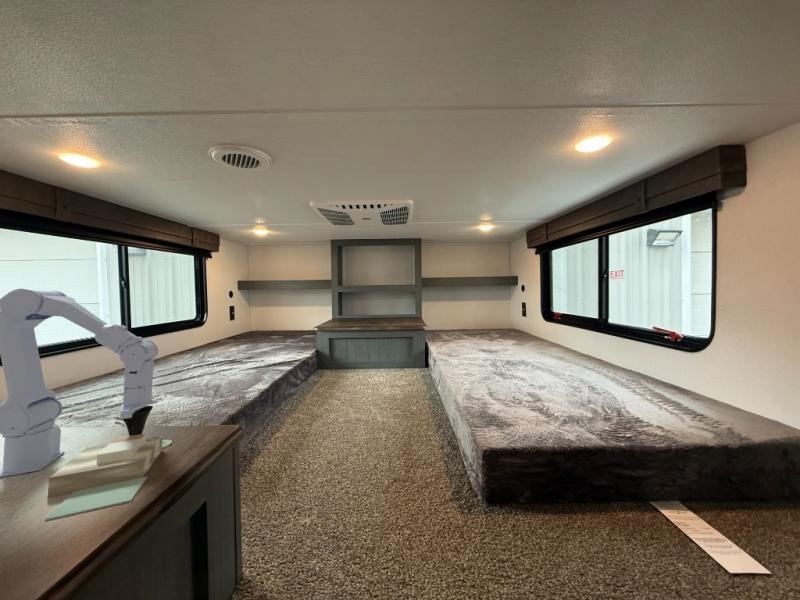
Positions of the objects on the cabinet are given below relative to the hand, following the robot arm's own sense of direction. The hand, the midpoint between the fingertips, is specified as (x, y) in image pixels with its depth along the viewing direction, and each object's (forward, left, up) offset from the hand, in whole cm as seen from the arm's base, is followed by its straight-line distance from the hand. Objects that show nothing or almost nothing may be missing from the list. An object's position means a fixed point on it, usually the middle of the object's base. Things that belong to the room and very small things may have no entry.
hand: (135, 436), depth 75 cm
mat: (+20, +1, -5) cm, 20 cm away
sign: (-5, +9, -5) cm, 12 cm away
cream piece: (+8, -2, -5) cm, 9 cm away
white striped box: (+7, 0, -1) cm, 8 cm away
